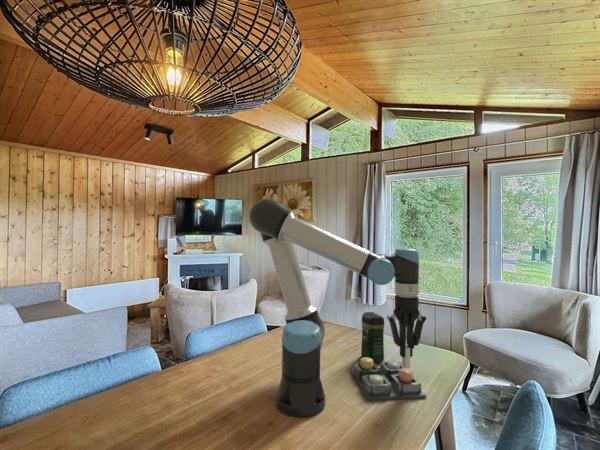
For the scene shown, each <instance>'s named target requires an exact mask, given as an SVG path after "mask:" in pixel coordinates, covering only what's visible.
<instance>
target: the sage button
mask: <svg viewBox="0 0 600 450" xmlns="http://www.w3.org/2000/svg"><path fill="white" fill-rule="evenodd" d="M370 383H371V384H383V377H381V376H379V375H371V376H370Z"/></svg>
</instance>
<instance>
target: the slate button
mask: <svg viewBox="0 0 600 450" xmlns="http://www.w3.org/2000/svg"><path fill="white" fill-rule="evenodd" d="M394 361H395V360H393V361H391V360H390V362H388V363H387V367H388V368H389V369H400V364H399V363H397V362H398V361H396V362H394Z"/></svg>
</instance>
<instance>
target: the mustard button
mask: <svg viewBox="0 0 600 450" xmlns="http://www.w3.org/2000/svg"><path fill="white" fill-rule="evenodd" d="M360 362H361V369H362V370H373V359H371V358H368V357H361V358H360Z"/></svg>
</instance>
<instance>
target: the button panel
mask: <svg viewBox="0 0 600 450" xmlns="http://www.w3.org/2000/svg"><path fill="white" fill-rule="evenodd" d="M390 361H391V360H390ZM390 361H382V362H380V363H379V367H378V366H377V365H376V363H373V370H362V369H361V361H360V362H355V363H353V368H350V373H351V374H352V376H353V378H354V379H355V381H356V383H357V384H358V386H359V388H360V390H361V392H362V393H363V395H364V397H365V398H366V400H367V401H387V400H388V401H389V400H393V401H394V400H407V399H408V400H409V399H410V400H411V399H412V400H414V399H426V398H427V395H426V393H425V392H424V391H423V390H422V382H421V381H420V380H418V378H417V377H416V376H414V374H413V382H412V383H402V382H400V381H399V369H389V368H388V367H387V363H388V362H390ZM393 361H394V362H397V363H399V364H400V369H402V368H404V369H408V368H405V367H404V366H403V365H402V361H401V362H400V361H395V360H393ZM371 375H379V376H381V377H383V384H371V383H370V376H371Z"/></svg>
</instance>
